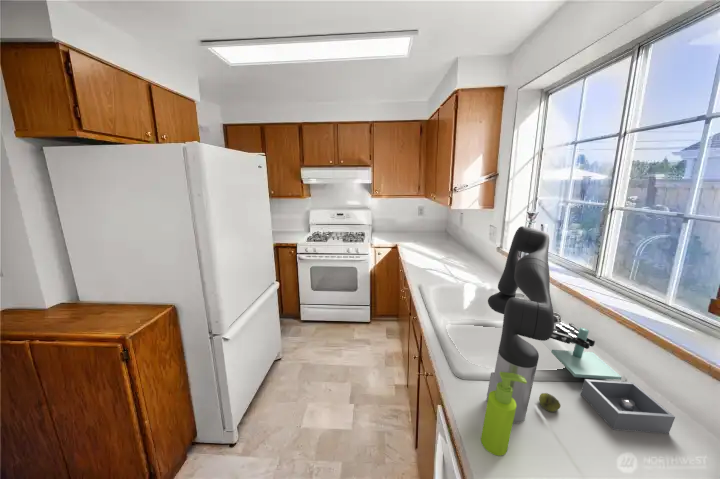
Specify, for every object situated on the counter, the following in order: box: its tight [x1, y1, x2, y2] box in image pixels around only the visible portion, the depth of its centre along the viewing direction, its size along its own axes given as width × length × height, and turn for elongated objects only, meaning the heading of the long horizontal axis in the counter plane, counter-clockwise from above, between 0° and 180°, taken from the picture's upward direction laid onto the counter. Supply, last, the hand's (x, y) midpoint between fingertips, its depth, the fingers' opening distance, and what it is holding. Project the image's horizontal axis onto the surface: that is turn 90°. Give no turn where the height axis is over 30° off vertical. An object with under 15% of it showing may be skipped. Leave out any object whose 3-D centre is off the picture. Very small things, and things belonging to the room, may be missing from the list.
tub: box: [580, 378, 676, 434], centre depth 79 cm, size 14×12×6 cm
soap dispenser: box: [480, 372, 527, 457], centre depth 67 cm, size 6×7×20 cm
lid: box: [551, 327, 622, 381], centre depth 92 cm, size 14×12×12 cm
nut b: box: [619, 397, 635, 411], centre depth 81 cm, size 3×3×2 cm
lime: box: [538, 392, 561, 413], centre depth 79 cm, size 4×5×5 cm
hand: (591, 345), depth 93 cm, fingers closed on lid, 2 cm apart
